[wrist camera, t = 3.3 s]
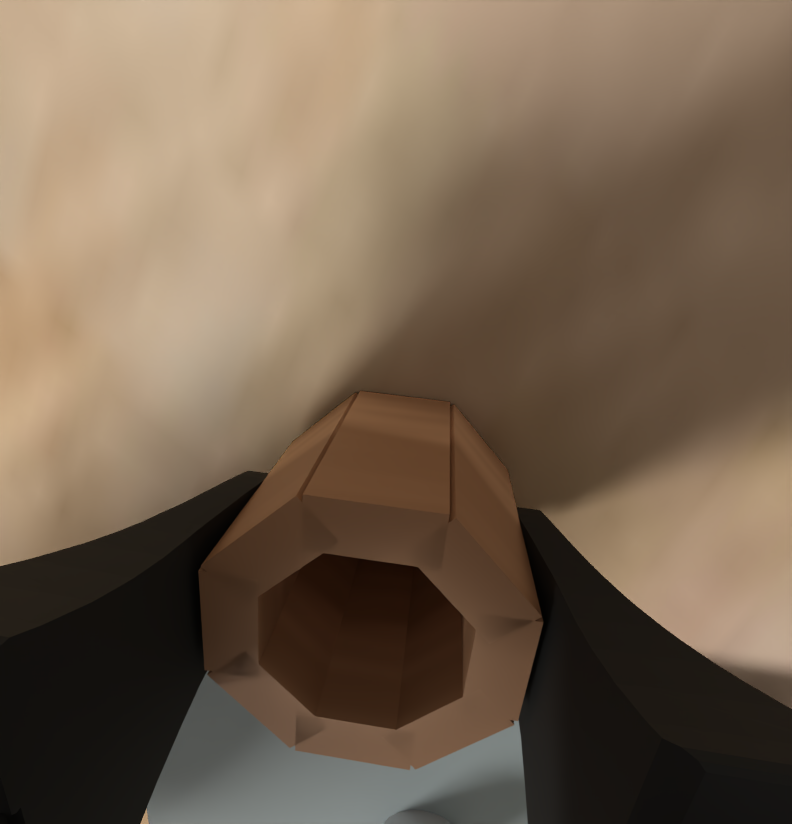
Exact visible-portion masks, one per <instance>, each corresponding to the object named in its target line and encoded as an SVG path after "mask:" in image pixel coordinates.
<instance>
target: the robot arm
mask: <svg viewBox="0 0 792 824" xmlns="http://www.w3.org/2000/svg"><path fill="white" fill-rule="evenodd" d="M267 475H268V473H261V472H253V471H247V472H245V473H242V474H240V475H238V476H236V477H234V478H232V479H230V480H228V481H226V482H224V483H222V484H220V485H218V486H216V487H214V488H212V489H210V490H208V491H206V492H204V493H202V494H200V495H198V496H196V497H194V498H192V499H190V500H188V501H186V502H184V503H182V504H180V505H178V506H176V507H174V508H171V509H169V510H167V511H165V512H163V513H160V514H158V515H156V516H154V517H152V518H149V519H147V520H145V521H143V522H140V523H138V524H136V525H133V526H131V527H128V528H126V529H123V530H121V531H118V532H115V533H112V534H110V535H107V536H104V537H101V538H98V539H96V540H93V541H90V542H87V543H84V544H81V545H77V546H74V547H70V548H67V549H63V550H60V551H57V552H53V553H50V554H46V555H43V556H39V557H36V558H32V559H29V560H25V561H20V562H16V563H12V564H8V565H4V566H0V824H140V823H141V820H142V818H143V815H144V813H145V811H146V808H147V806H148V803H149V801H150V798H151V796H152V793H153V791H154V788H155V786H156V784H157V781H158V779H159V776H160V774H161V772H162V769H163V767H164V765H165V762H166V760H167V758H168V756H169V753H170V751H171V749H172V746H173V744H174V742H175V739H176V737H177V735H178V732H179V730H180V728H181V726H182V723H183V721H184V719H185V717H186V715H187V712H188V710H189V708H190V706H191V704H192V701H193V699H194V697H195V695H196V693H197V690H198V688H199V686H200V684H201V682H202V680H203V678H204V676H205V674H206V672H207V670H204V654H203V638H202V621H201V605H200V589H199V573H198V570H199V569H200V568H201V565H202V563H203V562H204V561H205V559H206V558H207V556H208V555H209V554H210V552H211V551H212V550H213V548H214V547H215V546H216V544H217V543H218V542H219V540H220V539H221V538H222V536H223V535H224V533H225V532H226V531H227V529H228V528H229V527H230V525H231V524H232V523H233V521H234V520H235V519H236V517H237V516H238V515H239V513H240V512H241V511H242V509H243V508H244V506H245V505H246V504H247V502H248V501H249V500H250V498H251V497H252V496H253V494H254V493H255V492H256V490H257V489H258V488H259V486H260V485H261V483H262V482H263V481H264V479H265V478H266V477H267ZM516 508H517V512H518V517H519V521H520V525H521V529H522V534H523V538H524V542H525V546H526V550H527V554H528V559H529V563H530V567H531V571H532V576H533V580H534V584H535V588H536V593H537V597H538V601H539V605H540V610H541V614H542V618H543V626H542V630H541V634H540V638H539V642H538V646H537V649H536V653H535V657H534V661H533V665H532V669H531V673H530V676H529V680H528V684H527V688H526V692H525V696H524V700H523V703H522V707H521V711H520V715H519V719H518V720H519V727H520V734H521V744H522V756H523V768H524V780H525V793H526V807H527V821H528V824H792V709H790V708H789V707H787V706H785V705H783V704H781V703H780V702H778V701H776V700H775V699H773V698H771V697H769V696H768V695H766V694H764V693H763V692H761V691H759V690H757V689H756V688H754V687H752V686H751V685H749V684H747V683H745V682H744V681H742V680H740V679H739V678H737V677H736V676H734V675H732V674H731V673H729V672H728V671H726V670H724V669H723V668H721V667H720V666H718V665H716V664H715V663H713V662H712V661H711V660H709V659H708V658H706V657H705V656H703V655H702V654H700V653H699V652H697V651H696V650H694V649H693V648H691V647H690V646H688V645H687V644H685V643H684V642H683V641H681V640H680V639H678V638H677V637H676V636H674V635H673V634H672V633H670V632H669V631H667V630H666V629H665V628H663V627H662V626H661V625H660V624H658V623H657V622H656V621H655V620H653V619H652V618H651V617H649V616H648V615H647V614H646V613H644V612H643V611H642V610H641V609H639V608H638V607H637V606H636V605H635V604H633V603H632V602H631V601H630V600H629V599H627V598H626V597H625V596H624V595H623V594H622V593H621V592H620V591H619V590H617V589H616V588H615V587H614V586H613V585H612V584H611V583H610V582H609V581H608V580H607V579H605V578H604V577H603V576H602V575H601V574H600V573H599V572H598V571H597V570H596V569H595V568H594V567H593V566H592V565H591V564H590V563H589V562H588V561H587V560H586V559H585V558H584V557H583V556H582V555H581V554H580V553H579V552H578V551H577V549H576V548H575V547H574V546H573V545H572V544H571V543H570V542H569V541H568V540H567V539H566V538H565V537H564V535H563V534H562V533H561V532H560V531H559V530H558V529H557V528H556V527H555V526H554V525H553V523H552V522H551V521H550V520H549V519H548V518H547V517H546V516H545V515H544V514H543V513H542V512H541V511H540V510H533V509H526V508H519V507H516Z"/></svg>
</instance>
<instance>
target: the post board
mask: <svg viewBox="0 0 792 824" xmlns="http://www.w3.org/2000/svg"><path fill="white" fill-rule="evenodd" d="M208 672H209V671H207V672H206V674H205V676H204V678H203V680H202V682H201V684H200V686H199V688H198V690H197V693H196V695H195V697H194V699H193V701H192V704H191V706H190V708H189V710H188V712H187V715H186V717H185V719H184V721H183V723H182V726H181V728H180V730H179V732H178V735H177V737H176V739H175V742H174V744H173V746H172V749H171V751H170V753H169V756H168V758H167V760H166V762H165V765H164V767H163V769H162V772H161V774H160V776H159V779H158V781H157V784H156V786H155V788H154V791H153V793H152V796H151V798H150V801H149V803H148V806H147V813H148V821H149V824H528V821H527V807H526V793H525V780H524V768H523V756H522V744H521V734H520V727H519V720H518V721H514V725H513V726H511V727H509V728H507V729H504V730H502V731H500V732H498V733H496V734H493V735H491V736H489V737H487V738H484V739H482V740H480V741H478V742H476V743H473V744H471V745H469V746H467V747H465V748H462V749H460V750H458V751H456V752H454V753H451V754H449V755H447V756H445V757H442V758H440V759H438V760H436V761H434V762H431V763H429V764H427V765H425V766H423V767H420V768H418V769H416V770H415V769H414V768H413V767H412V766H411V767H410V770H405V769H400V768H394V767H388V766H382V765H376V764H371V763H365V762H359V761H353V760H347V759H341V758H336V757H330V756H324V755H318V754H312V753H307V752H301V751H295V746H293V747H291V748H289V747H288V746H287V745H286V744H285V743H284V742H282V741H281V740H280V739H279V738H278V737H277V736H276V735H275V734H273V733H272V732H271V731H270V730H269V729H268V728H267V727H266V726H264V725H263V724H262V723H261V722H260V721H259V720H258V719H256V718H255V717H254V716H253V715H252V714H251V713H250V712H249V711H247V710H246V709H245V708H244V707H243V706H242V705H241V704H240V703H238V702H237V701H236V700H235V699H234V698H233V697H232V696H231V695H229V694H228V693H227V692H226V691H225V690H224V689H223V688H222V687H220V686H219V685H218V684H217V683H216V682H215V681H214V680H213V679H211V678H210V677H209V676H208V675H207V674H208Z"/></svg>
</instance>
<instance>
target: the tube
mask: <svg viewBox="0 0 792 824" xmlns="http://www.w3.org/2000/svg"><path fill="white" fill-rule="evenodd" d="M198 573H199V589H200V605H201V621H202V638H203V654H204V670H207V671H209V672H208V674H207V675H208V676H209V677H210V678H211V679H213V680H214V681H215V682H216V683H217V684H218V685H219V686H220V687H222V688H223V689H224V690H225V691H226V692H227V693H228V694H229V695H231V696H232V697H233V698H234V699H235V700H236V701H237V702H238V703H240V704H241V705H242V706H243V707H244V708H245V709H246V710H247V711H249V712H250V713H251V714H252V715H253V716H254V717H255V718H256V719H258V720H259V721H260V722H261V723H262V724H263V725H264V726H266V727H267V728H268V729H269V730H270V731H271V732H272V733H273V734H275V735H276V736H277V737H278V738H279V739H280V740H281V741H282V742H284V743H285V744H286V745H287V746H288V747H289V748H291V747H293V746H295V751H301V752H307V753H312V754H318V755H324V756H330V757H336V758H341V759H347V760H353V761H359V762H365V763H371V764H376V765H382V766H388V767H394V768H400V769H405V770H410V767H411V766H412V767H413V768H414V769H415V770H416V769H418V768H420V767H423V766H425V765H427V764H429V763H431V762H434V761H436V760H438V759H440V758H442V757H445V756H447V755H449V754H451V753H454V752H456V751H458V750H460V749H462V748H465V747H467V746H469V745H471V744H473V743H476V742H478V741H480V740H482V739H484V738H487V737H489V736H491V735H493V734H496V733H498V732H500V731H502V730H504V729H507V728H509V727H511V726H513V725H514V721H518V719H519V715H520V711H521V707H522V703H523V700H524V696H525V692H526V688H527V684H528V680H529V676H530V673H531V669H532V665H533V661H534V657H535V653H536V649H537V646H538V642H539V638H540V634H541V630H542V626H543V618H542V614H541V610H540V605H539V601H538V597H537V593H536V588H535V584H534V580H533V576H532V571H531V567H530V563H529V559H528V554H527V550H526V546H525V542H524V538H523V534H522V529H521V525H520V521H519V517H518V512H517V508H516V503H515V499H514V495H513V491H512V486H511V482H510V478H509V474H508V470H507V469H506V467H505V466H504V465H503V464H502V462H501V461H500V460H499V459H498V457H497V456H496V455H495V454H494V453H493V451H492V450H491V449H490V448H489V446H488V445H487V444H486V443H485V442H484V440H483V439H482V438H481V437H480V435H479V434H478V433H477V432H476V430H475V429H474V428H473V427H472V426H471V424H470V423H469V422H468V421H467V419H466V418H465V417H464V416H463V415H462V413H461V412H460V411H459V410H458V408H457V407H456V406H455V405H454V404H453V405H452V406H451V407H450V402H446V401H438V400H430V399H422V398H414V397H406V396H398V395H390V394H382V393H373V392H365V391H360V392H359V394H357V393H356V392H355V393H354V394H353V395H351V396H350V397H349V398H348V399H346V400H345V401H344V402H342V403H341V404H340V405H339V406H337V407H336V408H335V409H333V410H332V411H331V412H330V413H328V414H327V415H326V416H325V417H323V418H322V419H321V420H319V421H318V422H317V423H316V424H314V425H313V426H312V427H311V428H309V429H308V430H307V431H305V432H304V433H303V434H302V435H300V436H299V437H298V438H296V439H295V440H294V441H293V442H292V443H291V444H290V446H289V447H288V448H287V450H286V451H285V452H284V454H283V455H282V456H281V458H280V459H279V461H278V462H277V463H276V465H275V466H274V467H273V469H272V470H271V471H270V473H269V474H268V475H267V477H266V478H265V479H264V481H263V482H262V483H261V485H260V486H259V488H258V489H257V490H256V492H255V493H254V494H253V496H252V497H251V498H250V500H249V501H248V502H247V504H246V505H245V506H244V508H243V509H242V511H241V512H240V513H239V515H238V516H237V517H236V519H235V520H234V521H233V523H232V524H231V525H230V527H229V528H228V529H227V531H226V532H225V533H224V535H223V536H222V538H221V539H220V540H219V542H218V543H217V544H216V546H215V547H214V548H213V550H212V551H211V552H210V554H209V555H208V556H207V558H206V559H205V561H204V562H203V563H202V565H201V568H200V569H199V570H198Z"/></svg>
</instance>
